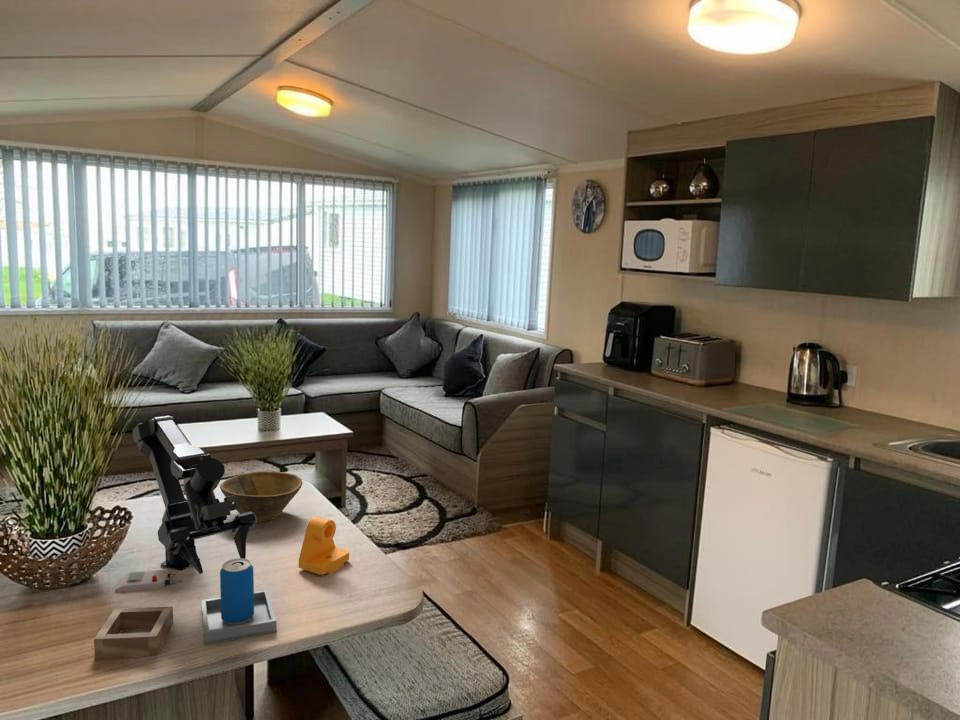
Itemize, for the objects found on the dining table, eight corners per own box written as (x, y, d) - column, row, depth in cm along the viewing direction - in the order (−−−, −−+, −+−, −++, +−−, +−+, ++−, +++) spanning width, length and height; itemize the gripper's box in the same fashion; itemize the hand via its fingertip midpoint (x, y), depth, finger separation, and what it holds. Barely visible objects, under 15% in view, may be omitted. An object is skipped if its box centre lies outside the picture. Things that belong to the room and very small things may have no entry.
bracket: (321, 578, 164) (321, 530, 162) (298, 570, 167) (298, 523, 165) (350, 561, 173) (351, 516, 171) (328, 554, 176) (328, 509, 174)
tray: (204, 645, 135) (204, 633, 135) (201, 611, 147) (201, 600, 147) (276, 631, 141) (276, 620, 140) (267, 600, 153) (267, 589, 152)
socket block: (116, 627, 140) (115, 608, 139) (173, 624, 142) (172, 606, 141) (94, 658, 129) (93, 639, 129) (157, 655, 131) (156, 636, 130)
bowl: (278, 495, 215) (278, 465, 213) (315, 518, 199) (315, 485, 197) (208, 511, 200) (207, 478, 199) (242, 538, 184) (241, 502, 182)
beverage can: (258, 610, 147) (257, 557, 145) (248, 627, 141) (247, 572, 139) (227, 609, 147) (226, 556, 145) (216, 626, 141) (215, 571, 139)
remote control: (112, 580, 160) (112, 568, 159) (185, 574, 164) (185, 562, 163) (105, 594, 153) (104, 581, 153) (181, 587, 158) (181, 575, 157)
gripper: (166, 494, 143) (187, 564, 137) (253, 477, 155) (276, 540, 149) (155, 518, 150) (174, 585, 144) (239, 500, 162) (260, 561, 156)
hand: (223, 567), depth 148 cm, fingers open, 9 cm apart
